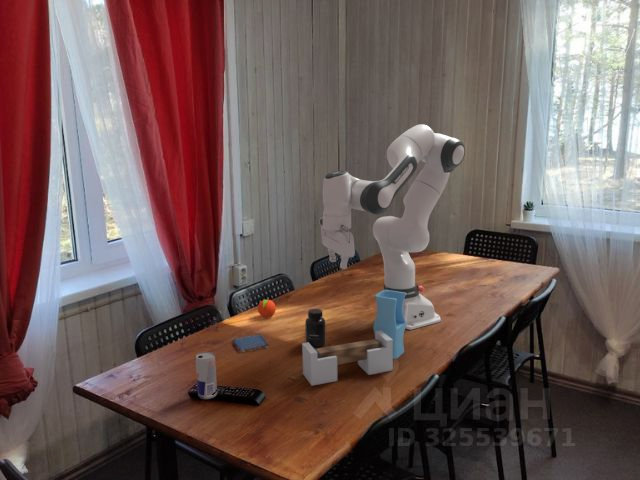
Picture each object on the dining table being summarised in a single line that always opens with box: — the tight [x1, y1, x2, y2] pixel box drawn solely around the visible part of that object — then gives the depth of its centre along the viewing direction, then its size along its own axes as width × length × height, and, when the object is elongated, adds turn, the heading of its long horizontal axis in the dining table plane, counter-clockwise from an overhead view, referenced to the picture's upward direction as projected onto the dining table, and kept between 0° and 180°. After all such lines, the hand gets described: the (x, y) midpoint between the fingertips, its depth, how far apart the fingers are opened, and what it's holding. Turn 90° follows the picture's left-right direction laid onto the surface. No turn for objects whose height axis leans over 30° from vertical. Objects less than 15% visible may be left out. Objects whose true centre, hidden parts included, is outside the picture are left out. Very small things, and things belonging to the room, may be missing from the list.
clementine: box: [257, 299, 277, 318], centre depth 219 cm, size 8×7×7 cm
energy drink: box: [195, 351, 218, 400], centre depth 159 cm, size 5×5×12 cm
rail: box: [314, 338, 380, 366], centre depth 171 cm, size 20×4×4 cm, turn 110°
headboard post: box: [357, 330, 394, 376], centre depth 174 cm, size 8×8×10 cm
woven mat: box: [231, 333, 270, 354], centre depth 194 cm, size 10×11×2 cm
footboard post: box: [301, 342, 338, 386], centre depth 168 cm, size 8×8×10 cm
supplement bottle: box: [304, 308, 326, 349], centre depth 192 cm, size 7×7×12 cm
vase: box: [372, 289, 406, 360], centre depth 183 cm, size 8×8×20 cm
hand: (338, 265), depth 182 cm, fingers open, 8 cm apart
